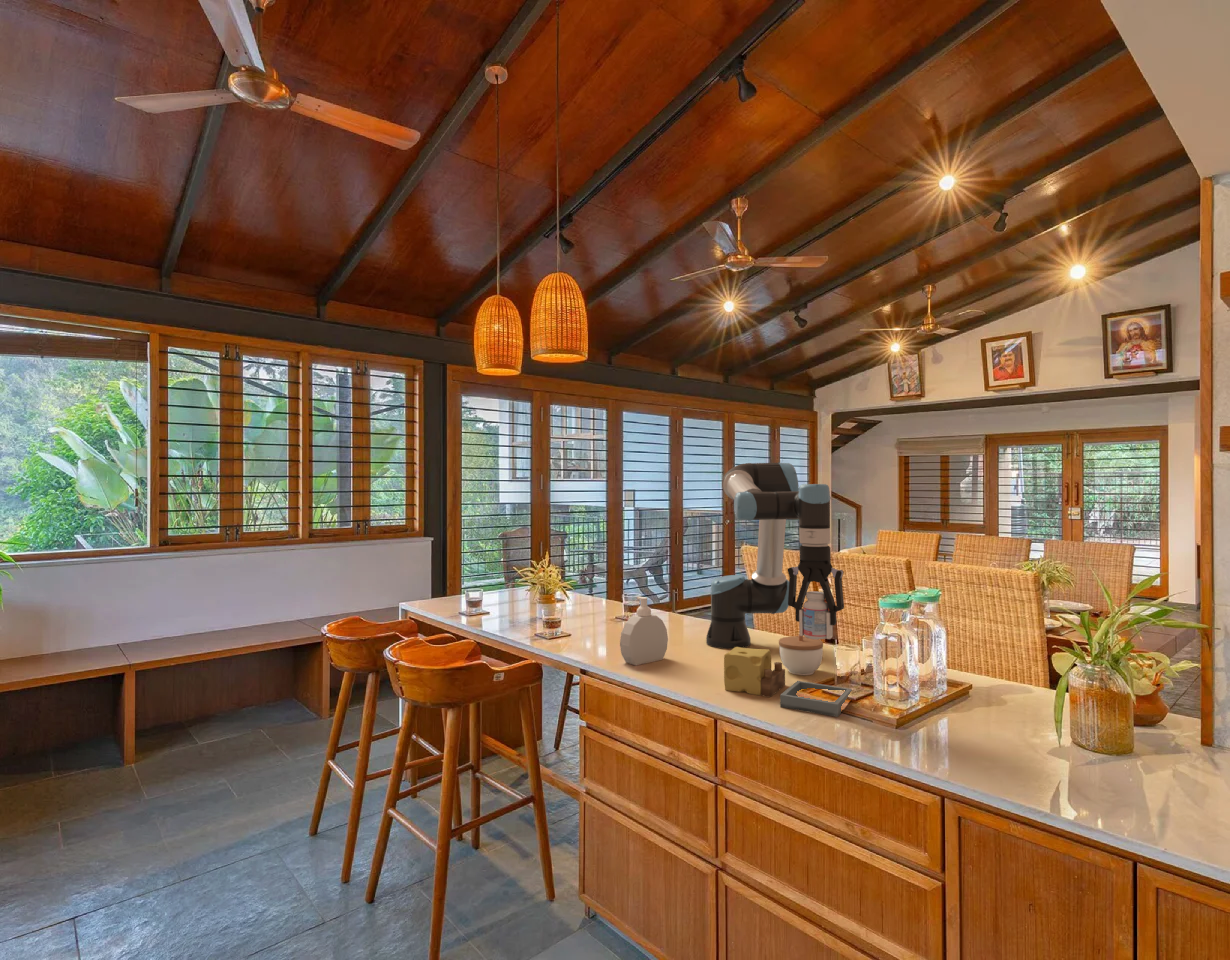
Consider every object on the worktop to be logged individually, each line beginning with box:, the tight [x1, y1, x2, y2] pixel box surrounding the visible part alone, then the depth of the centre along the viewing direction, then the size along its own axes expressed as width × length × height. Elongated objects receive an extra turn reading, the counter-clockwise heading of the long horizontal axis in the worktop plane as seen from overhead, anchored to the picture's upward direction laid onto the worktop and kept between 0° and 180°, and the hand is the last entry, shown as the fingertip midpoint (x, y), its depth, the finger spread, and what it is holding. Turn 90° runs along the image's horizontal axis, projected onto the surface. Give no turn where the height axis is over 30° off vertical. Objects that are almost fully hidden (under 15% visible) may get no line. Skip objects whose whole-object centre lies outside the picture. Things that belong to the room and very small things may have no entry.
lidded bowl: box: [778, 634, 824, 676], centre depth 197 cm, size 13×13×11 cm
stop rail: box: [760, 661, 786, 698], centre depth 180 cm, size 12×2×6 cm, turn 147°
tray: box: [779, 680, 853, 718], centre depth 169 cm, size 14×14×3 cm
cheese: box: [723, 647, 772, 696], centre depth 183 cm, size 10×11×10 cm
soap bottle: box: [619, 596, 669, 666], centre depth 211 cm, size 16×5×20 cm, turn 127°
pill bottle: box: [802, 591, 829, 640], centre depth 169 cm, size 6×6×11 cm
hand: (815, 636), depth 169 cm, fingers closed on pill bottle, 6 cm apart
